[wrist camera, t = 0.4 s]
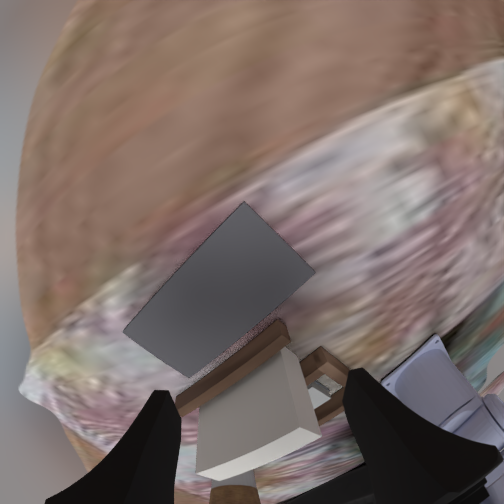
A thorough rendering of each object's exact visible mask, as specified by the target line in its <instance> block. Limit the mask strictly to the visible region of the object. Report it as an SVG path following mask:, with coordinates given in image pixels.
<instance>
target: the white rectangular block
mask: <svg viewBox="0 0 504 504" xmlns="http://www.w3.org/2000/svg"><path fill="white" fill-rule="evenodd" d="M320 437H322V434H321V431H320V428H319V424H318V421H317V418H316V415H315V411H314V408H313V405H312V402H311V398H310V395H309V392H308V389H307V386H306V382H305V379H304V376H303V373H302V370H301V366H300V363H299V360H298V357H297V355H296V354H294V353H293V352H291V351H290V350H289V349H287V348H286V347H284V348H282V349H281V350H280V351H279V352H277V353H276V354H275V355H273V356H272V357H271V358H269V359H268V360H267V361H265V362H264V363H263V364H261V365H260V366H259V367H257V368H256V369H254V370H253V371H252V372H250V373H249V374H247V375H246V376H245V377H243V378H242V379H240V380H239V381H237V382H236V383H235V384H233V385H232V386H230V387H229V388H227V389H226V390H224V391H223V392H221V393H220V394H218V395H217V396H215V397H214V398H212V399H211V400H209V401H207V402H206V403H204V404H203V405H201V406H200V409H199V423H198V438H197V455H196V474H198V475H201V476H204V477H208V478H211V479H214V480H218V481H221V480H224V479H227V478H230V477H233V476H236V475H239V474H242V473H244V472H247V471H250V470H252V469H255V468H257V467H260V466H262V465H264V464H267V463H269V462H271V461H274V460H276V459H278V458H280V457H283V456H285V455H287V454H289V453H291V452H293V451H295V450H297V449H299V448H301V447H303V446H305V445H307V444H309V443H311V442H313V441H314V440H316V439H318V438H320Z"/></svg>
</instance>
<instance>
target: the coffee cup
mask: <svg viewBox="0 0 504 504" xmlns="http://www.w3.org/2000/svg"><path fill="white" fill-rule="evenodd" d="M209 504H261V503H260V499H259V495H258V490H257V487H256V482H255V477H254V472H253V469H252V470H250V471H247V472H244V473H242V474H239V475H236V476H233V477H230V478H227V479H224V480H221V481H218V480H214V479H212V487H211V493H210V502H209Z"/></svg>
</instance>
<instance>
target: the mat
mask: <svg viewBox="0 0 504 504" xmlns="http://www.w3.org/2000/svg"><path fill="white" fill-rule="evenodd" d="M314 274H315V271H314V270H313V269H312V268H311V267H310V266H309V265H308V264H307V263H306V262H305V261H304V260H303V259H302V258H301V257H300V256H299V255H298V254H297V253H296V252H295V251H294V250H293V249H292V248H291V247H290V246H289V245H288V244H287V243H286V242H285V241H284V240H283V239H282V238H281V237H280V236H279V235H278V234H277V233H276V232H275V231H274V230H273V229H272V228H271V227H270V226H269V225H268V224H267V223H266V222H265V221H264V220H263V219H262V218H261V217H260V216H259V215H258V214H257V213H256V212H255V211H254V210H253V209H252V208H250V207H249V206H248V205H247V204H246V203H245V202H243V203H242V204H241V205H240V206H239V207H238V208H237V209H236V210H235V211H234V212H233V213H232V214H231V215H230V216H229V217H228V218H227V219H226V220H225V221H224V222H223V223H222V224H221V225H220V226H219V227H218V228H217V229H216V230H215V231H214V232H213V233H212V234H211V235H210V236H209V237H208V238H207V239H206V240H205V241H204V243H203V244H202V245H201V246H200V247H199V248H198V249H197V250H196V251H195V252H194V253H193V254H192V255H191V256H190V257H189V258H188V259H187V260H186V261H185V263H184V264H183V265H182V266H181V267H180V268H179V269H178V270H177V271H176V272H175V273H174V274H173V275H172V277H171V278H170V279H169V280H168V281H167V282H166V283H165V284H164V285H163V286H162V287H161V289H160V290H159V291H158V292H157V293H156V294H155V295H154V296H153V297H152V298H151V300H150V301H149V302H148V303H147V304H146V305H145V306H144V307H143V309H142V310H141V311H140V312H139V313H138V314H137V315H136V316H135V318H134V319H133V320H132V321H131V322H130V323H129V324H128V326H127V327H126V328H125V329H124V330H123V333H124V334H125V335H127V336H128V337H129V338H131V339H132V340H133V341H135V342H136V343H137V344H139V345H140V346H142V347H143V348H144V349H146V350H147V351H149V352H150V353H151V354H153V355H154V356H156V357H157V358H159V359H160V360H162V361H163V362H165V363H166V364H168V365H169V366H171V367H172V368H174V369H175V370H177V371H178V372H180V373H182V374H183V375H185V376H186V377H188V378H190V377H191V376H193V375H194V374H195V373H197V372H198V371H199V370H200V369H202V368H203V367H204V366H206V365H207V364H208V363H210V362H211V361H212V360H213V359H215V358H216V357H217V356H218V355H220V354H221V353H222V352H224V351H225V350H226V349H227V348H229V347H230V346H231V345H232V344H234V343H235V342H236V341H237V340H238V339H240V338H241V337H242V336H243V335H245V334H246V333H247V332H248V331H249V330H251V329H252V328H253V327H254V326H255V325H257V324H258V323H259V322H260V321H261V320H263V319H264V318H265V317H266V316H267V315H268V314H270V313H271V312H272V311H273V310H274V309H275V308H277V307H278V306H279V305H280V304H281V303H282V302H284V301H285V300H286V299H287V298H288V297H289V296H290V295H291V294H293V293H294V292H295V291H296V290H297V289H298V288H299V287H300V286H302V285H303V284H304V283H305V282H306V281H307V280H308V279H309V278H310V277H312V276H313V275H314Z"/></svg>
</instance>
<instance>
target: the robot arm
mask: <svg viewBox="0 0 504 504" xmlns="http://www.w3.org/2000/svg"><path fill="white" fill-rule="evenodd" d="M381 384H382V385H381ZM381 384H380V383H379V382H378V381H376V380H375V379H374V378H373V377H372V376H371V375H370V374H369V373H368V372H367V371H366V370H365V369H363V368H358V369H354V370H350V371H349V372H348V376H347V381H346V386H345V390H344V395H343V399H342V403H343V406H344V410H345V414H346V417H347V420H348V423H349V425H350V428H351V430H352V432H353V435H354V437H355V439H356V441H357V444H358V446H359V448H360V451H361V453H362V455H363V458H364V460H365V463H366V465H367V468H368V472H369V476H370V479H371V483H372V487H373V491H374V496H375V500H376V504H504V450H503V451H502V452H500V451H501V450H502V449H503V448H504V402H503V401H502V400H501V399H500V398H499V397H498V396H497V395H496V394H487V395H486V396H485V397H484V398H483V397H481V396H480V395H479V394H478V393H477V391H476V390H475V389H474V388H473V386H472V385H471V384H470V383H469V381H468V380H467V379H466V378H465V377H464V375H463V374H462V373H461V372H460V371H459V369H458V368H457V367H456V366H455V365H454V364H453V362H452V361H451V359H450V357H449V355H448V353H447V351H446V349H445V347H444V345H443V343H442V341H441V339H440V337H439V336H438V335H437V334H435V335H433V336H432V337H431V338H430V339H429V340H428V341H427V342H426V343H425V344H424V345H423V346H422V347H421V348H420V349H419V350H418V351H416V352H415V353H414V354H413V355H412V356H411V357H410V358H409V359H407V360H406V361H405V362H404V363H403V364H402V365H401V366H399V367H398V368H397V369H396V370H395V371H393V372H392V373H391V374H390V375H388V376H387V377H386V378H385V379H383V380H382V382H381ZM384 387H385V388H386V389H387V390H386V389H385V388H384ZM390 392H391V393H392V394H393V395H394V396H393V395H392V394H391V393H390ZM395 396H396V397H397V398H398V399H399V400H400V401H399V400H398V399H397V398H396V397H395ZM180 442H181V417H180V415H179V412H178V410H177V408H176V406H175V404H174V402H173V399H172V397H171V395H170V392H169V390H154V391H153V393H152V394H151V396H150V397H149V399H148V400H147V402H146V404H145V405H144V407H143V408H142V410H141V411H140V413H139V414H138V416H137V417H136V419H135V420H134V422H133V423H132V425H131V426H130V427H129V429H128V430H127V432H126V433H125V434H124V435H123V437H122V438H121V439H120V440H119V442H118V443H117V444H116V446H115V447H114V448H113V449H112V450H111V451H110V452H109V453H108V455H107V456H106V457H105V458H104V459H103V460H102V461H101V462H100V463H99V464H98V465H96V466H95V467H94V468H93V469H92V470H91V471H90V472H89V473H87V474H86V475H85V476H84V477H82V478H81V479H80V480H78V481H77V482H75V483H74V484H73V485H71V486H70V487H68V488H66V489H65V490H63V491H61V492H59V493H58V494H56V495H54V496H52V497H50V498H48V499H46V501H45V504H174V484H175V476H176V469H177V462H178V456H179V449H180Z"/></svg>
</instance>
